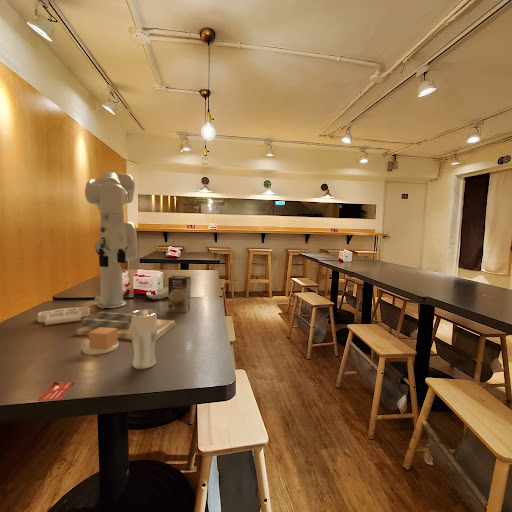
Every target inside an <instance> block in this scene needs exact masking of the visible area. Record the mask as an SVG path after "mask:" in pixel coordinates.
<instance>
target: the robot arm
mask: <svg viewBox="0 0 512 512" xmlns="http://www.w3.org/2000/svg"><path fill="white" fill-rule="evenodd" d="M135 184H136V183H135V180H134V178H133V176H132V175H131V174H129V173H122V172H114V171H105V172H103V173H102V174H100V175H99V177H98V178H93V179H89V180H88V181H87V182H86V185H85V189H84V195H85V199H86V201H87V202H88V203H89V204H93V205H96V206H97V208H98V212H99V214H100V217H99V218H100V222H99V226H98V227H99V228H98V240H97V241H96V242H95V243H94V244H93V246H94V249H95V252H96V253H97V256H98V261H99V262H98V263H99V264H98V266H99V271H100V273H99V274H100V276H99V277H100V295H96V296H95V298H94V301H97V302H98V303H97V308H99V307H100V308H99V309H104V308H110V309H117V307H118V308H122V307H125V306H126V305H127V301H126V300H124V295H123V294H124V292H123V290H124V289H123V285H124V283H123V269H122V267H121V265H119V264H126V261H129V262H130V261H134V260H136V259H137V258H138V256H139V255H138V254H139V251H138V236H137V235H138V234H137V227H136V225H135V223H133V222H132V221H126V220H124V219H125V218H124V217H125V216H124V206H125V204H131V203H132V202H133V201H134V200H133V199H134V194H135V187H136V185H135ZM121 306H122V307H121Z"/></svg>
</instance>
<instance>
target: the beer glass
mask: <svg viewBox="0 0 512 512" xmlns="http://www.w3.org/2000/svg"><path fill="white" fill-rule="evenodd" d="M130 314H131V328H130V329H131V338H132V339H131V342H132V347H133V355H134V356H133V359H132V360H133V361H132V367H133V368H134V369H136V370H146V369H150V368H151V367H154V366H155V365H156V363H157V362H156V360H157V359H156V355H155V345H156V341H157V340H156V336H157V319H158V317H157V310H154V309H151V308H150V309H139V310H135V311H132V312H131V313H130Z"/></svg>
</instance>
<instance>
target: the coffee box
mask: <svg viewBox="0 0 512 512" xmlns="http://www.w3.org/2000/svg"><path fill="white" fill-rule="evenodd" d="M191 277H192V276H184V275H171V276H170V277H168V279H167V281H168V285H167V287H168V295H167V299H168V300H167V312H171V311H173V312H174V313H185V312H186V313H188V311H190V310H191V290H192V289H191V287H192V286H191V283H192V282H191V280H192V278H191ZM189 309H190V310H189Z"/></svg>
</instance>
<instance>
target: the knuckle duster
mask: <svg viewBox="0 0 512 512" xmlns="http://www.w3.org/2000/svg"><path fill="white" fill-rule="evenodd" d="M87 315H89V316H90V315H91V308H90V307H89V306H82V307H76V306H75V307H67V308H65V307H64V308H57V309H52V310H43V311H40V312H38V313H37V322H38V323H44V325H45V326H49V325H50V326H51V325H59V324H66V323H72V322H74V323H75V322H80V321H81V322H82V318H81V317H83V318H85V317H84V316H87ZM87 317H88V316H87Z"/></svg>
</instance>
